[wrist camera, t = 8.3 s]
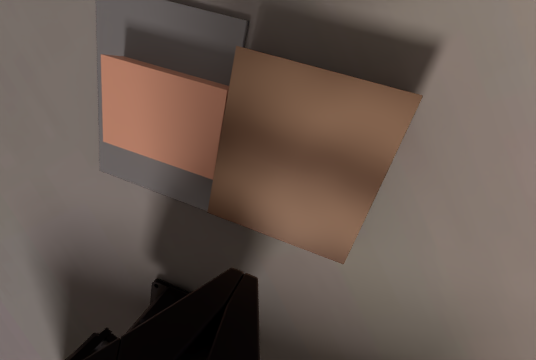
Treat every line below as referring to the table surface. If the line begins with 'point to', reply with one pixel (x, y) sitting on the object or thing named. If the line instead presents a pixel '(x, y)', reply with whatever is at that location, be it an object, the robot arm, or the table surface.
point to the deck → (305, 151)
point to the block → (162, 113)
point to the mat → (171, 57)
